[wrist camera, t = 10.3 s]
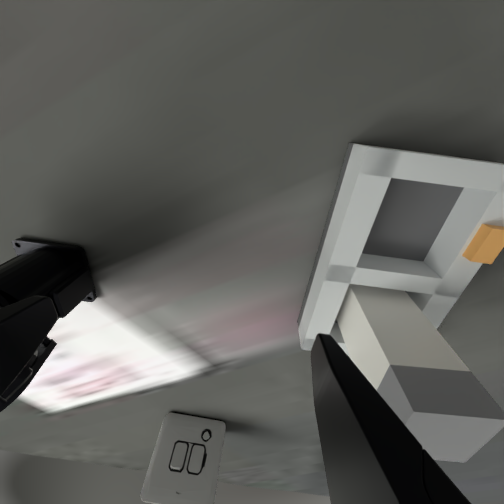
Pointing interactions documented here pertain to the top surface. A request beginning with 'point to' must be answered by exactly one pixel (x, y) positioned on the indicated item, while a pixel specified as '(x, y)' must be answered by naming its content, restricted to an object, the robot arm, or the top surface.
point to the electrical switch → (185, 461)
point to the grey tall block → (417, 373)
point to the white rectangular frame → (404, 232)
